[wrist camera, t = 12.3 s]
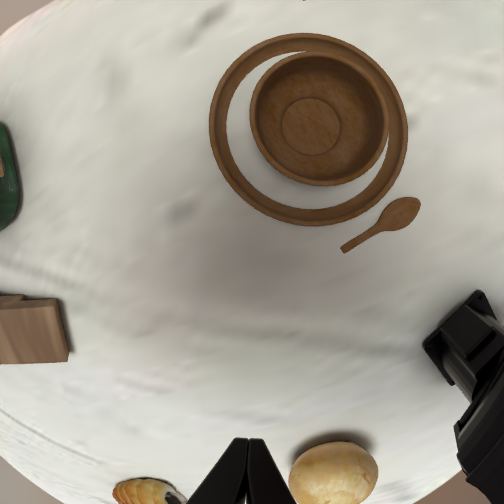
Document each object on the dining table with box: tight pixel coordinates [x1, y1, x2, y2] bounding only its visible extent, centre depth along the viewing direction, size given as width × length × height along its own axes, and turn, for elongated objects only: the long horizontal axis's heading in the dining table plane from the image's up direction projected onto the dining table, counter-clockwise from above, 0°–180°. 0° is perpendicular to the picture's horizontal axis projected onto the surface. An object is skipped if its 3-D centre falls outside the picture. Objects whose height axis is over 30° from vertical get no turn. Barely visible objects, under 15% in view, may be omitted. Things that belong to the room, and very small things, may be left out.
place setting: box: [209, 0, 421, 253], centre depth 15 cm, size 18×20×6 cm
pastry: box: [112, 478, 187, 504], centre depth 27 cm, size 9×7×4 cm
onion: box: [288, 441, 378, 504], centre depth 22 cm, size 8×8×7 cm
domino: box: [0, 298, 69, 364], centre depth 20 cm, size 2×5×10 cm
